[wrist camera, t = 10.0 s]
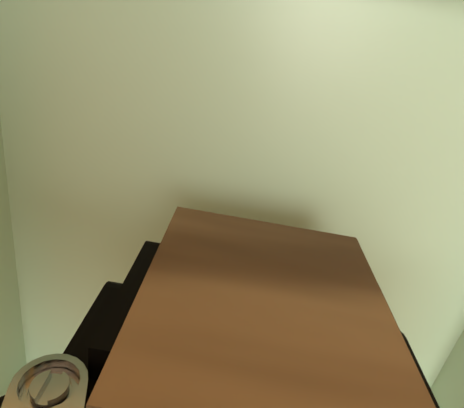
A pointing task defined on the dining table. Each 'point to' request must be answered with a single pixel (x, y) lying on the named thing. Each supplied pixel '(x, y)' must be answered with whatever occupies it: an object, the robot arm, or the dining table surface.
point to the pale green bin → (231, 149)
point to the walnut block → (258, 324)
